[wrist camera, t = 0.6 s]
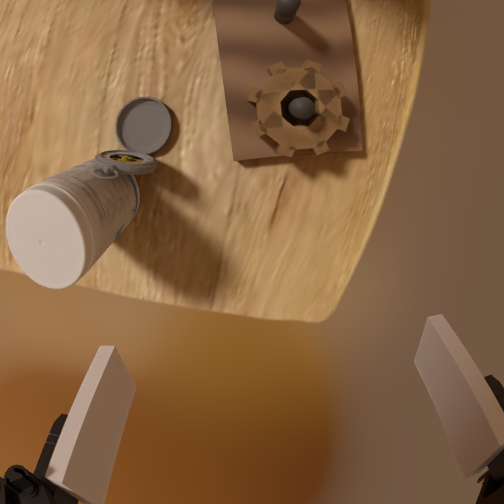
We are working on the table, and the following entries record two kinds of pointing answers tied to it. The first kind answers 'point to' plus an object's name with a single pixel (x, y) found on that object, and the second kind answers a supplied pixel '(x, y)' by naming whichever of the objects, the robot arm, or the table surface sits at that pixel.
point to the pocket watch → (137, 138)
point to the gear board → (292, 49)
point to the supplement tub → (69, 223)
